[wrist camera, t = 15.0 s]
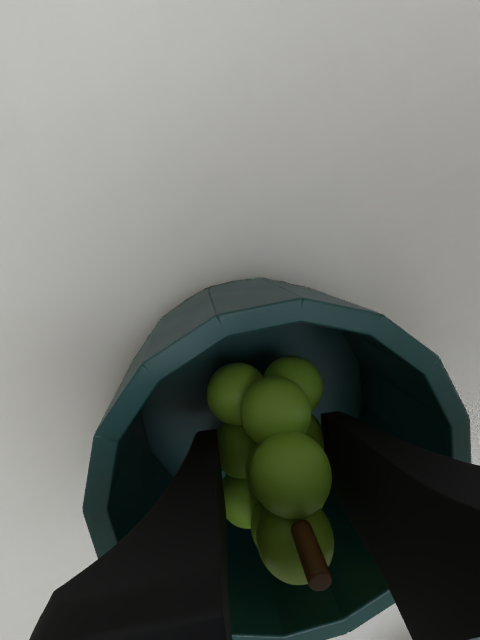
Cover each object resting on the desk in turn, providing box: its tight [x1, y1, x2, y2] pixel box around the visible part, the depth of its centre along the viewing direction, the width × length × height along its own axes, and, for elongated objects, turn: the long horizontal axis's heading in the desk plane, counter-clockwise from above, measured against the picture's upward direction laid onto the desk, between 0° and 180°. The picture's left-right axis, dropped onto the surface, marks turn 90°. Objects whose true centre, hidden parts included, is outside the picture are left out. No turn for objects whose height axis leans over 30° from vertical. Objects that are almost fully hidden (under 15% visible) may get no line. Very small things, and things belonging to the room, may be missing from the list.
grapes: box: [207, 356, 334, 591], centre depth 10 cm, size 6×4×6 cm, turn 5°
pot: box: [83, 278, 471, 640], centre depth 12 cm, size 10×10×6 cm
